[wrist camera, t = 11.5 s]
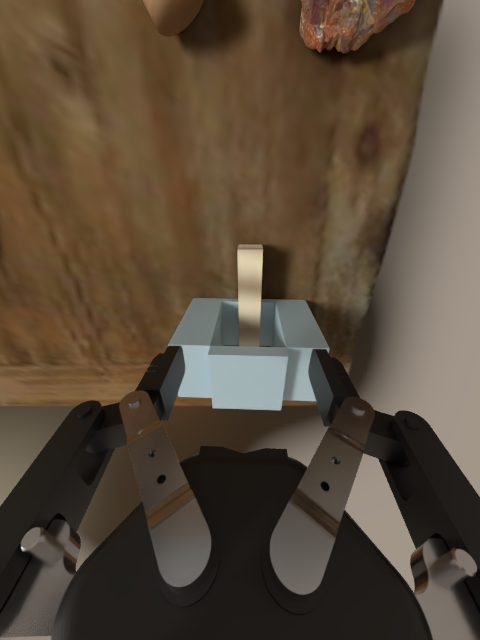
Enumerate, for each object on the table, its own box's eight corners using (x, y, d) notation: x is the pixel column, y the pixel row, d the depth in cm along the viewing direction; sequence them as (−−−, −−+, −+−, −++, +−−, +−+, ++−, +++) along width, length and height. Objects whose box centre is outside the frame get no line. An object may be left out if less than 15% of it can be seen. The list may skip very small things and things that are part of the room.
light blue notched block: (193, 298, 34) (163, 353, 22) (305, 299, 33) (334, 357, 22) (198, 340, 38) (175, 406, 26) (298, 342, 37) (319, 411, 26)
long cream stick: (238, 244, 29) (237, 249, 26) (261, 244, 29) (263, 249, 26) (240, 371, 40) (239, 383, 37) (257, 371, 40) (257, 384, 37)
